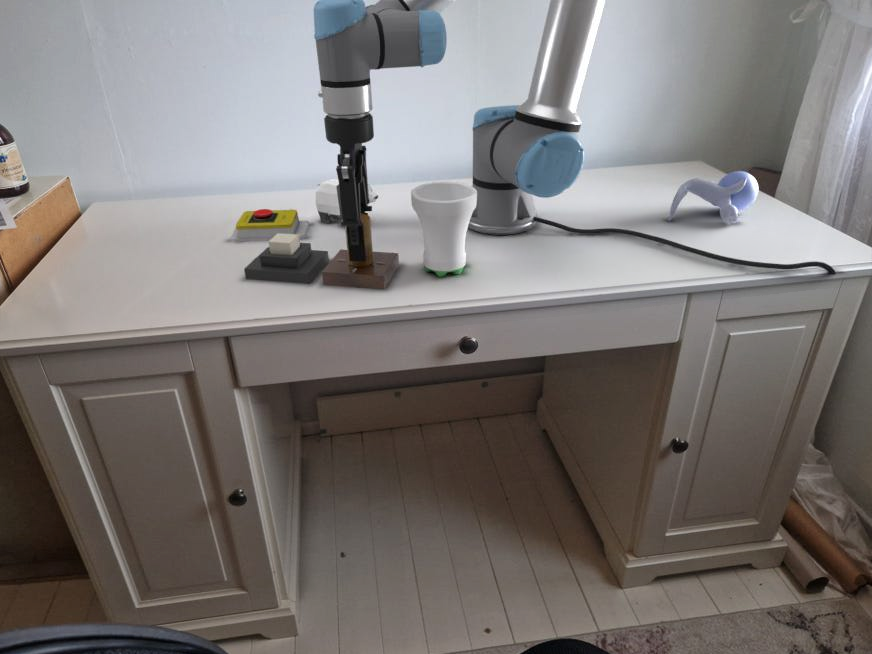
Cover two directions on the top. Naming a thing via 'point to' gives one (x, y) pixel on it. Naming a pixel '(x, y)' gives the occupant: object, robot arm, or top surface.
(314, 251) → the grey stepped base
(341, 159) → the robot arm
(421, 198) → the cup
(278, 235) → the cream square push button
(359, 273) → the volume panel
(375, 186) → the top surface
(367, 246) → the volume knob
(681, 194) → the seal
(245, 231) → the emergency button
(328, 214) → the giant panda
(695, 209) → the top surface
